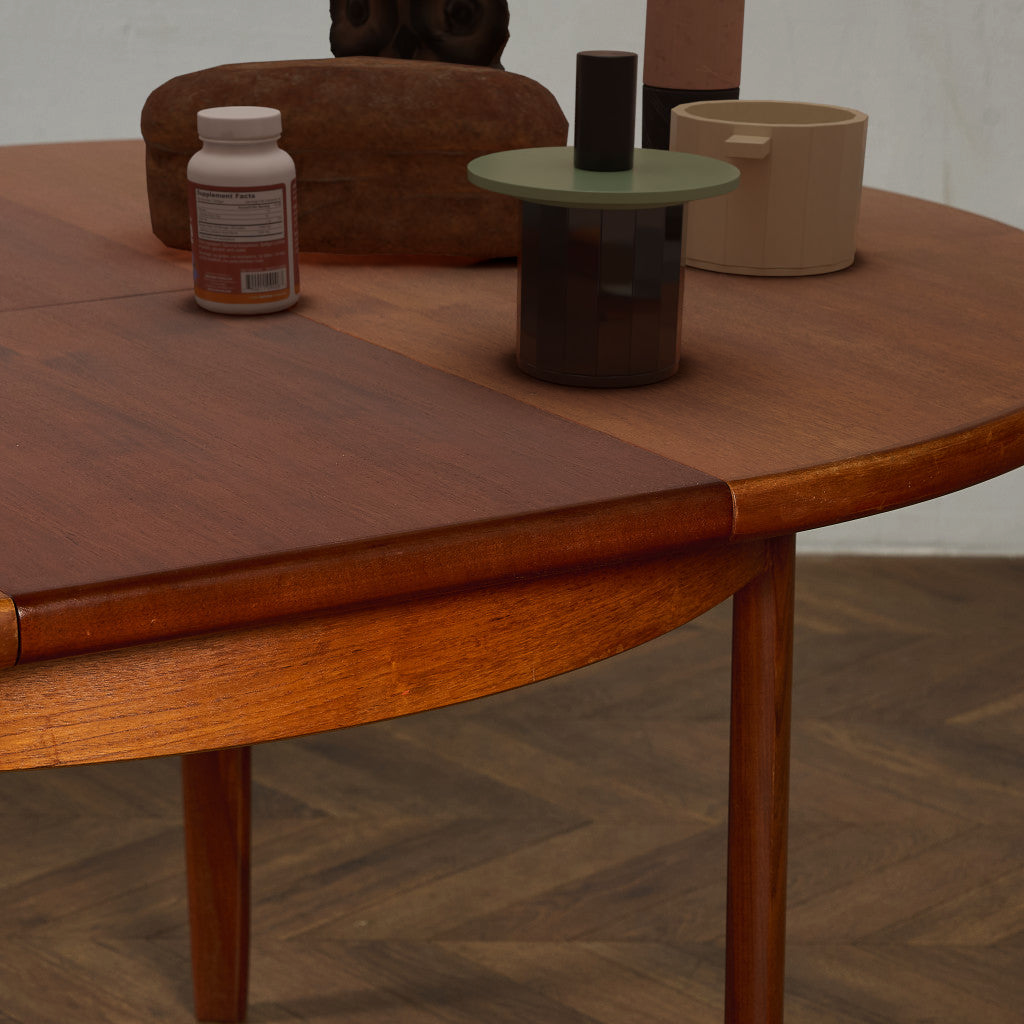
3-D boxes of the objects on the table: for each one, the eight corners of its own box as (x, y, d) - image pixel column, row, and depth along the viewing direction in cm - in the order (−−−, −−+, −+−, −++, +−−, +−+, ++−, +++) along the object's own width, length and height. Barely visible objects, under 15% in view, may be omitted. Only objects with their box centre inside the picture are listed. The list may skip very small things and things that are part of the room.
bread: (172, 223, 118) (161, 47, 113) (563, 229, 118) (567, 53, 113) (129, 265, 105) (115, 69, 100) (568, 272, 105) (573, 76, 100)
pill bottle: (230, 287, 100) (221, 101, 96) (319, 297, 98) (314, 108, 93) (173, 309, 94) (161, 114, 90) (266, 321, 92) (258, 121, 88)
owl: (525, 196, 129) (530, -72, 122) (380, 209, 123) (375, -72, 116) (453, 172, 139) (454, -77, 132) (316, 182, 134) (308, -77, 126)
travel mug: (639, 202, 128) (651, -69, 121) (636, 184, 135) (647, -72, 128) (737, 204, 128) (755, -67, 120) (728, 186, 135) (745, -70, 128)
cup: (708, 362, 86) (719, 190, 83) (618, 398, 80) (625, 214, 76) (579, 334, 91) (584, 171, 87) (484, 366, 84) (486, 192, 81)
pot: (868, 236, 117) (881, 101, 113) (835, 292, 101) (849, 136, 97) (695, 223, 120) (702, 91, 117) (637, 275, 104) (643, 124, 101)
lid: (760, 178, 86) (769, 47, 84) (708, 226, 74) (717, 74, 71) (514, 162, 90) (516, 35, 87) (427, 205, 78) (427, 59, 75)
